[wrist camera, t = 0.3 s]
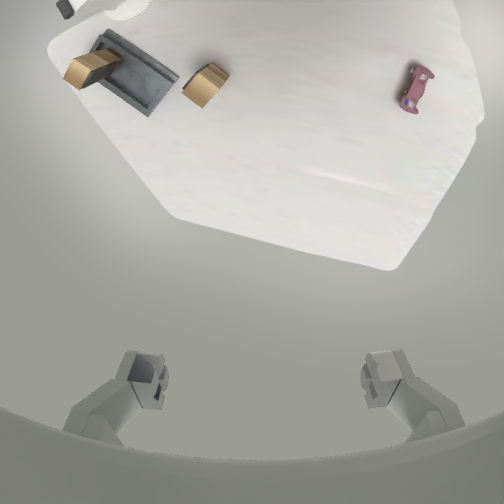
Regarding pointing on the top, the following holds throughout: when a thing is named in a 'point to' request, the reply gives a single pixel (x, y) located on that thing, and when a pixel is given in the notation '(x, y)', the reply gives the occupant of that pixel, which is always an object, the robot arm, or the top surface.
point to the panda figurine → (103, 8)
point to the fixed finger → (91, 68)
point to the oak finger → (205, 84)
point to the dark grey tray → (135, 74)
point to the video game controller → (415, 89)
